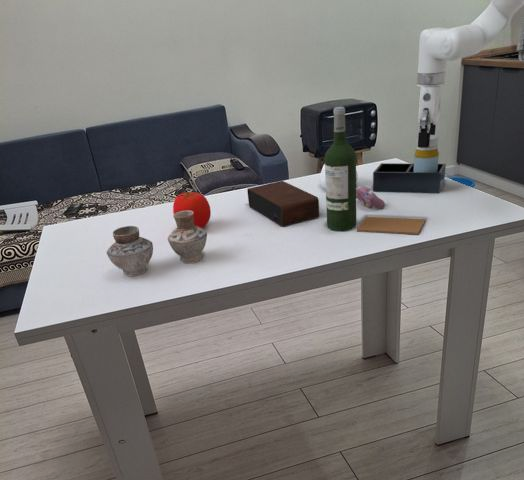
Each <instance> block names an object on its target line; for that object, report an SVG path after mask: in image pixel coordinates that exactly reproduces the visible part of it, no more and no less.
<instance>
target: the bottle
mask: <svg viewBox="0 0 524 480" xmlns="http://www.w3.org/2000/svg"><path fill="white" fill-rule="evenodd" d="M415 145H416V146H415V151H414V155H413V164H414V172H427V173H437V170H438V164H439V154H440V153H439V149H438V147H439V136H438V135H436V134H435V135H430V143H429V147H418V136H417V137H416V144H415Z"/></svg>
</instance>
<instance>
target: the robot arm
mask: <svg viewBox="0 0 524 480" xmlns="http://www.w3.org/2000/svg"><path fill="white" fill-rule="evenodd" d="M523 6H524V0H490V3H489V4H488V6H487V7H486V8H485V9H484V10H483V11H482V13H481V14H479V16H477V17H476V19H474V20H473V21H472V22H470V24H465V25H459V26H455V27H449V28H446V27H431V28H426V29H424V30H422V31H421V32H420V35H419V42H418V43H419V44H418V45H419V46H418V61H417V78H416V87H419V88H420V90H419V101H418V115H417V118H418V119H417V122H418V124H419V129H418V135H417V137H418V147H429V143H430V135H436V129H437V128H436V126H437V123H438V121H439V120H440V118H441V108H442V107H441V104H442V86H444V85H445V83H446V73H447V72H446V71H447V63H448V62H449V61H457V60H461V59H464V58H468V57H472V56H475V55H477V54H479V53H481V52H482V51H483V50H485V48H487V47H488V46H489V45H490V44H491V43H492V42H494V40H495V39H497V37H499V36H500V34H502V32H503V31H505V29H506V28H507V26H508V25H509V23H510V22H511V21H512V19H513V17H514V15H515V14H516V13H517V12H518V11H519V10H520V9H521V8H522V7H523Z"/></svg>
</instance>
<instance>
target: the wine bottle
mask: <svg viewBox="0 0 524 480" xmlns="http://www.w3.org/2000/svg"><path fill="white" fill-rule="evenodd" d="M324 164H325V182H326V189H325V207H326V209H325V210H326V227H327V229H328V230H329V231H333V232H346V231H347V232H348V231H351V230H354V229H355V228H356V226H357V198H356V188H357V182H356V171H357V153H356V151H355V149H354V148H353V147H352V146H351V144H349V143H348V141H347V132H346V108H345V107H344V106H335V107H334V108H333V142H332V144H331V145H330V146H329V148H328V149H327V150H326V151H325V153H324Z"/></svg>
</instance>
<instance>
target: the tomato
mask: <svg viewBox="0 0 524 480" xmlns="http://www.w3.org/2000/svg"><path fill="white" fill-rule="evenodd" d="M185 210H189V211H193V212H194V216H193V219H194V225H195V226H198V227H200V228H202V229H204V228H205V227H206V226H207V225H208V223H209V222H210V219H211V217H212V216H211V215H212V214H211V213H212V211H211V206H210V203H209V200H208V199H207V197H205V195H204V194H202V193H199V192H198V191H197V192H196V191H195V192H194V191H187V192H183V193H180V194H178V195H176V197H175V199H174V201H173V205H172V212H173V213H172V214H173V215H174V214H175V213H177V212H180V211H185Z"/></svg>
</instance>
